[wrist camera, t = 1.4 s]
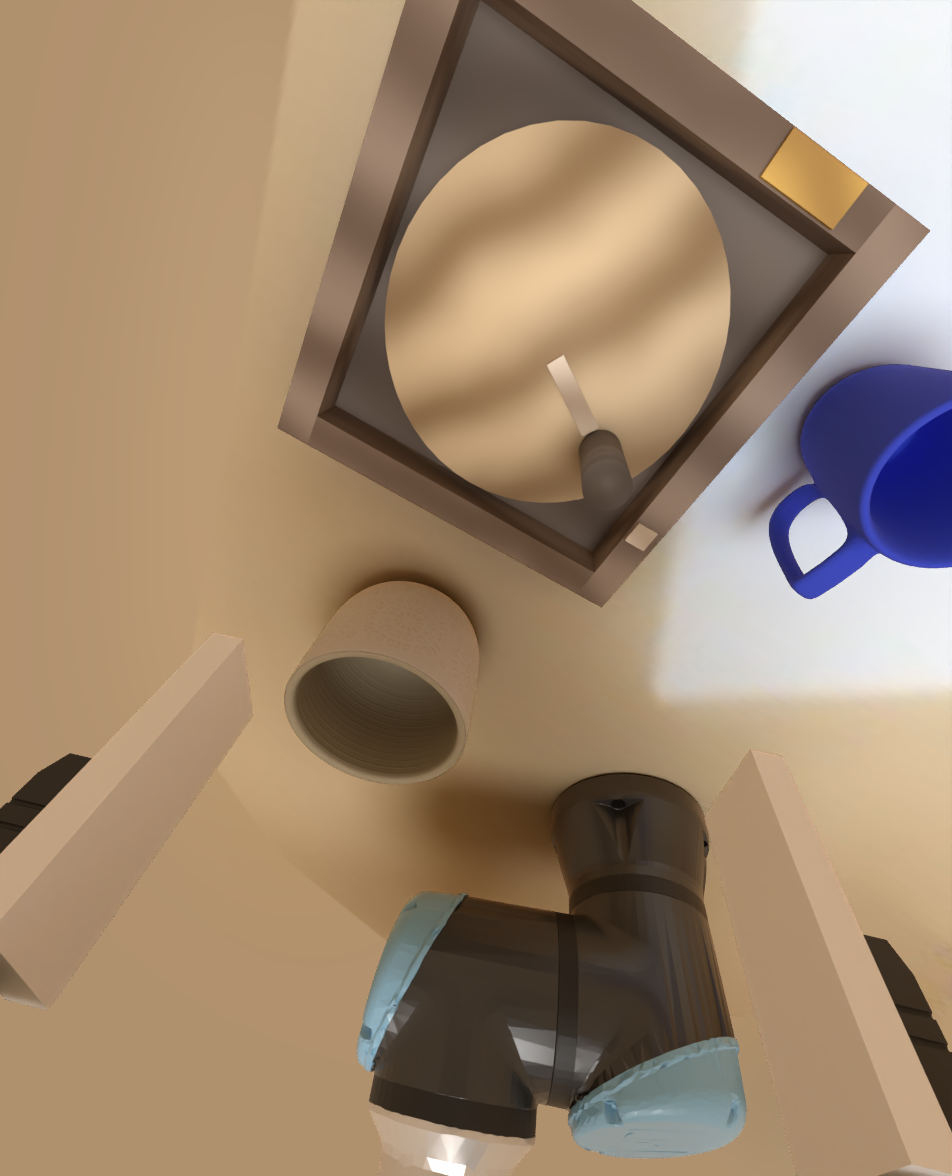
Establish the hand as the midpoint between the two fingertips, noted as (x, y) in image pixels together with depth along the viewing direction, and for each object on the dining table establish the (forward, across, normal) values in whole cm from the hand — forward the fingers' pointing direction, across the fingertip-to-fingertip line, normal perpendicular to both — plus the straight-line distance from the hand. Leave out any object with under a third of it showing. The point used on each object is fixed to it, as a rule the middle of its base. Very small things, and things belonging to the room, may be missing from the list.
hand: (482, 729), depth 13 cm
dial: (+24, 0, +6) cm, 25 cm away
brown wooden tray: (+24, 0, +6) cm, 25 cm away
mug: (+25, +18, +3) cm, 30 cm away
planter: (+25, -6, -17) cm, 31 cm away
